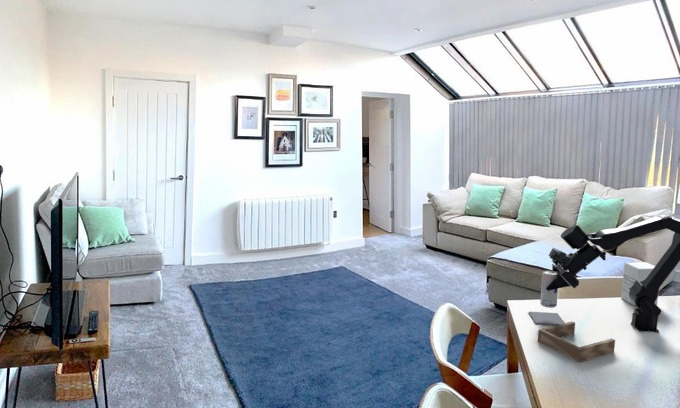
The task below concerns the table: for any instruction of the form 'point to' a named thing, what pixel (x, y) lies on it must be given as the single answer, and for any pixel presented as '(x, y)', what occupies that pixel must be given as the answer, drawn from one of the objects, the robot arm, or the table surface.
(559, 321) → the mat
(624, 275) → the supplement box
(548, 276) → the energy drink
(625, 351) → the table surface
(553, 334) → the bay
